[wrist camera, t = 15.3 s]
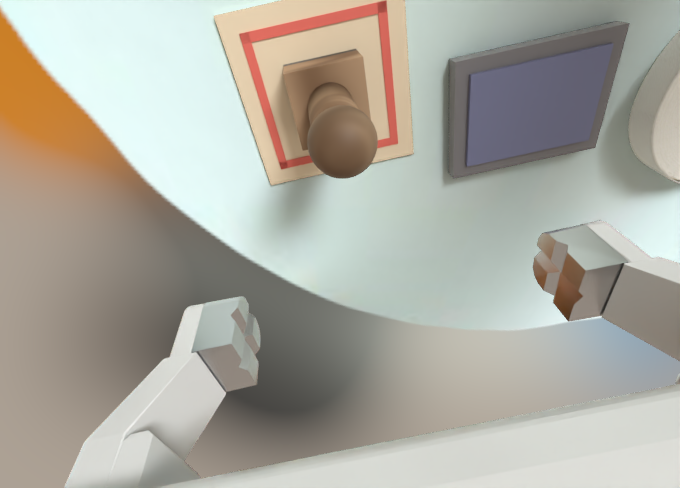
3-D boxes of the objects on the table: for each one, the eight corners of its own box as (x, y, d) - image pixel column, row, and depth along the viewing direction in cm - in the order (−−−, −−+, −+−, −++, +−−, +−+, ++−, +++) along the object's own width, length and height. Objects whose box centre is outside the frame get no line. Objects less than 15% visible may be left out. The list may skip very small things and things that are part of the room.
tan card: (402, -28, 22) (403, -28, 22) (412, 152, 29) (413, 154, 29) (214, 15, 22) (213, 16, 22) (271, 184, 29) (270, 185, 29)
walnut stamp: (355, 48, 24) (394, 90, 15) (365, 121, 27) (402, 191, 18) (283, 64, 24) (280, 115, 15) (301, 135, 27) (307, 212, 18)
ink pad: (616, 21, 25) (632, 23, 24) (585, 142, 31) (597, 149, 29) (449, 58, 25) (457, 62, 24) (448, 172, 31) (454, 180, 30)
